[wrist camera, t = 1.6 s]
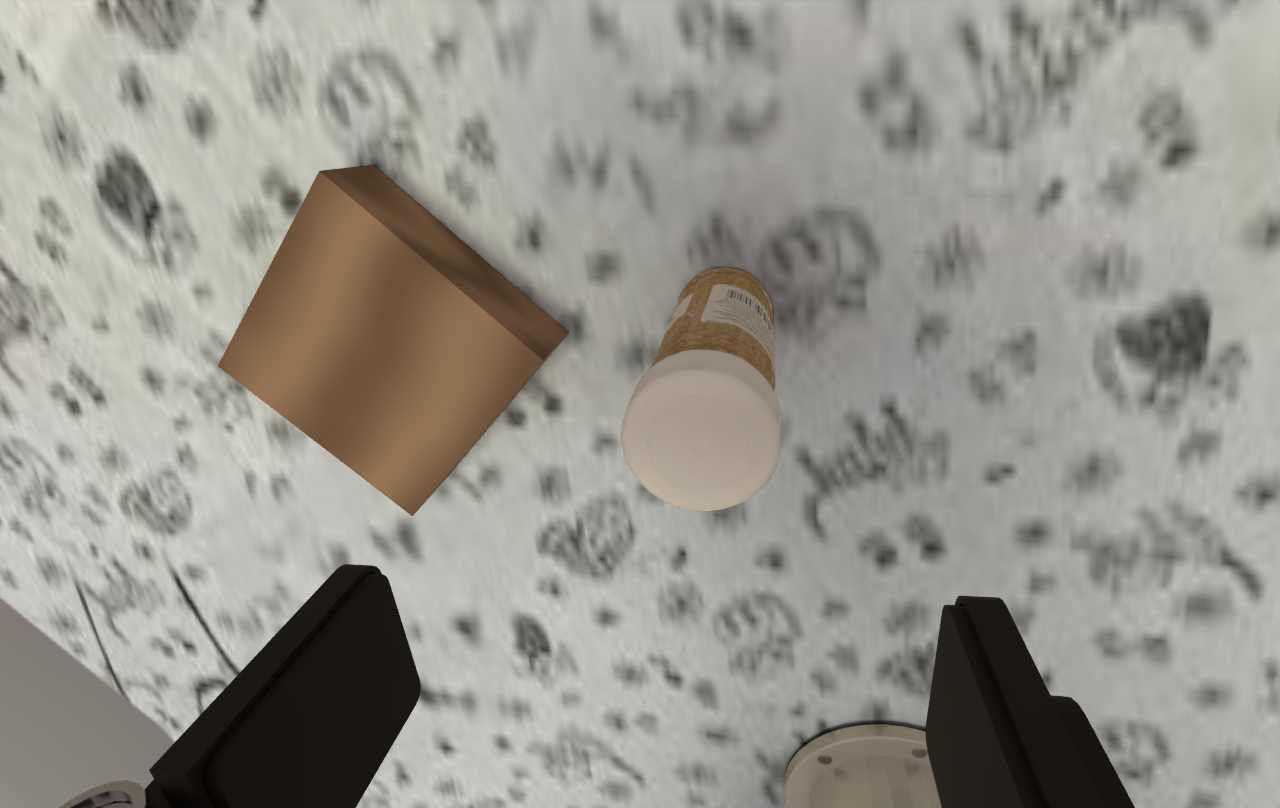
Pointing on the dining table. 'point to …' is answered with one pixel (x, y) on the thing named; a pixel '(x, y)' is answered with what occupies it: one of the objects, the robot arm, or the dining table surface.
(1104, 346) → the dining table surface
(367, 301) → the walnut stand
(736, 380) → the sprinkles bottle
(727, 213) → the dining table surface
